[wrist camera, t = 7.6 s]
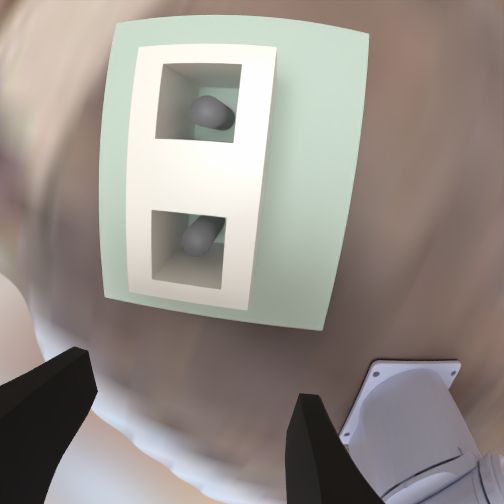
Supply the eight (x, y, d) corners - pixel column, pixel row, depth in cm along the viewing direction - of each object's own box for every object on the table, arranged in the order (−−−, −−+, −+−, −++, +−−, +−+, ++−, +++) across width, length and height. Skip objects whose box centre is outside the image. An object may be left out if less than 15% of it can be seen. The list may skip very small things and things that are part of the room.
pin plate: (319, 316, 18) (329, 370, 14) (115, 286, 19) (75, 326, 14) (361, 42, 13) (391, 8, 8) (127, 30, 13) (82, 3, 9)
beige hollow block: (256, 260, 16) (247, 310, 11) (169, 249, 16) (129, 291, 11) (277, 78, 13) (276, 47, 8) (180, 73, 13) (138, 47, 8)
